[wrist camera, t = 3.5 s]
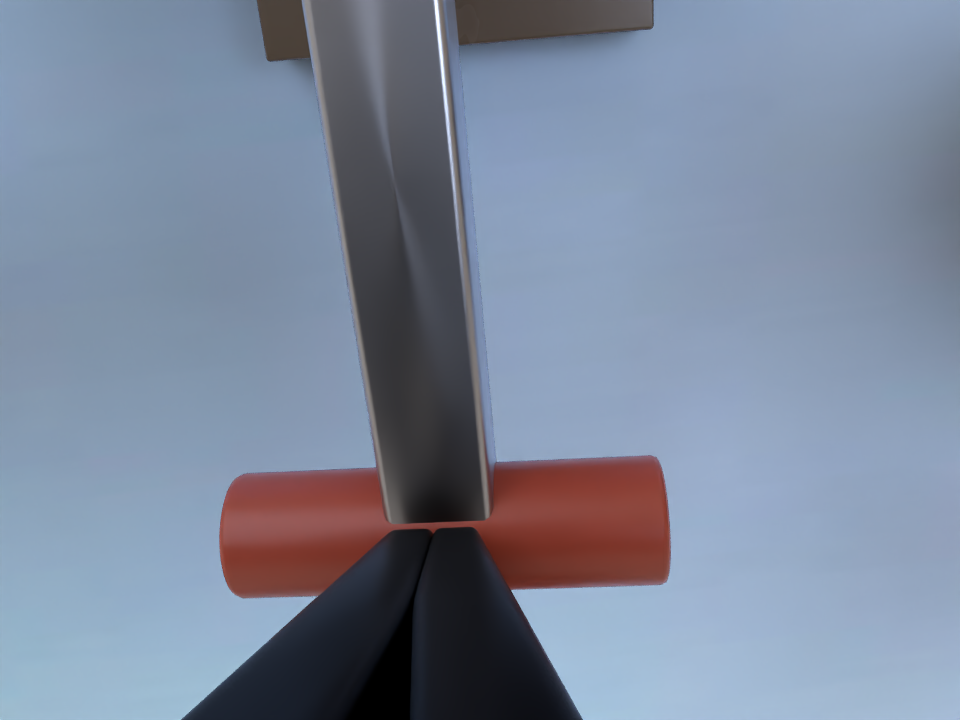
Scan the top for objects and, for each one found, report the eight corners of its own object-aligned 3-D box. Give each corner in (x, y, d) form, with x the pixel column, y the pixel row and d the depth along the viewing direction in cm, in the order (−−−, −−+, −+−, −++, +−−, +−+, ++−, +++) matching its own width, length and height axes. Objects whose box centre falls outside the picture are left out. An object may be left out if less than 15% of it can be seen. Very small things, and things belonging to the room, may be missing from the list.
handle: (648, 504, 10) (680, 652, 8) (280, 519, 11) (217, 664, 9) (646, -912, 6) (718, -1447, 3) (-13, -795, 6) (-318, -1211, 4)
